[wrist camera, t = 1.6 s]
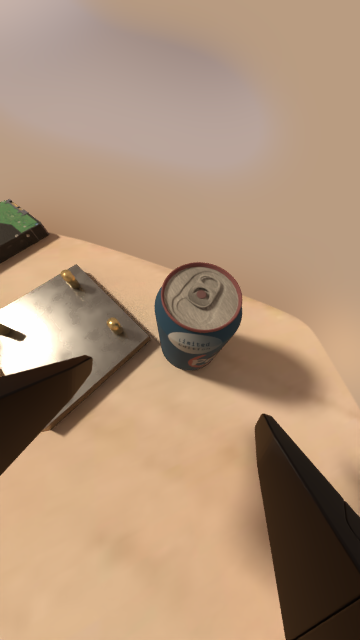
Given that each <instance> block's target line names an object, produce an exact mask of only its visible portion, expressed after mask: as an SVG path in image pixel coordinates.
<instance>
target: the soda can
mask: <svg viewBox="0 0 360 640" xmlns="http://www.w3.org/2000/svg"><path fill="white" fill-rule="evenodd" d="M155 315H156V321H157V326H158V332H159V337H160V343H161V348H162V352H163V354H164V356H165V357H166V359H167V360H168V361H169V362H170V363H171V364H172V365H174V366H175V367H177V368H180V369H183V370H197V369H200V368H202V367H204V366H206V365H207V364H208V363H209V362H210V361H211V360H212V359H213V358H214V357H215V356H216V354H217V353H218V352H219V351H220V350H221V349H222V347H223V346H224V345H225V344H226V343H227V342H228V340H229V339H230V338H231V337H232V336H233V335H234V333H235V332H236V331H237V329H238V327H239V325H240V322H241V319H242V293H241V290H240V287H239V285H238V283H237V282H236V280H235V279H234V278H233V277H232V276H231V275H230V274H229V273H228V272H227V271H225V270H224V269H222V268H220V267H218V266H216V265H213V264H209V263H201V262H197V263H189V264H185V265H182V266H180V267H178V268H176V269H175V270H173V271H172V272H171V273H170V274H169V275H168V276H167V278H166V279H165V281H164V283H163V285H162V287H161V288H160V290H159V292H158V294H157V296H156V300H155Z"/></svg>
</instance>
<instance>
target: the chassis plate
mask: <svg viewBox="0 0 360 640" xmlns="http://www.w3.org/2000/svg"><path fill="white" fill-rule="evenodd" d="M149 341H150V338H149V336H148V335H147V334H146V333H145V332H144V331H143V330H142V329H141V328H140V327H139V326H138V325H137V324H136V323H135V322H134V321H133V320H132V319H131V318H130V317H129V316H128V315H127V314H126V313H125V312H124V311H123V310H122V309H121V308H120V307H119V306H118V305H117V304H116V303H115V302H114V301H113V300H112V299H111V298H110V297H109V296H108V295H107V294H106V293H105V292H104V291H103V290H102V289H101V288H100V287H99V286H98V285H97V284H96V283H95V282H94V281H93V280H92V279H91V278H90V277H89V276H88V275H87V274H86V273H85V272H84V271H83V270H82V269H81V268H80V267H79V266H78V265H77V264H76V265H74V266H72V267H71V268H69V269H67V270H63V271H62V272H61V273H60V274H59V275H57V276H56V277H54V278H52V279H51V280H49V281H47V282H46V283H44V284H42V285H41V286H39V287H37V288H36V289H34V290H32V291H31V292H29V293H27V294H26V295H24V296H22V297H21V298H19V299H17V300H16V301H14V302H12V303H11V304H9V305H7V306H6V307H4V308H2V309H1V310H0V368H1V369H2V371H3V373H4V374H5V376H6V375H10V374H14V373H17V372H21V371H25V370H29V369H33V368H37V367H40V366H44V365H48V364H52V363H56V362H60V361H63V360H67V359H71V358H75V357H79V356H83V355H87V356H90V357H92V358H93V364H92V372H91V374H90V375H89V377H88V378H87V379H86V380H85V382H84V383H83V384H82V386H81V387H80V388H79V390H78V391H77V392H76V394H75V395H74V396H73V397H72V399H71V400H70V401H69V402H68V403H67V404H66V405H65V406H64V407H63V409H62V410H61V411H60V412H59V413H58V414H57V415H56V416H55V417H54V418H53V419H52V420H51V421H50V423H49V424H48V425H47V426H46V427H45V428H44V429H43V430H42V431H41V432H44V431H49V430H51V429H52V428H53V427H54V426H55V425H56V424H58V423H59V422H60V421H61V420H62V419H63V418H64V417H65V416H66V415H68V414H69V413H70V412H71V411H72V410H73V409H74V408H75V407H76V406H78V405H79V404H80V403H81V402H82V401H83V400H84V399H85V398H86V397H88V396H89V395H90V394H91V393H92V392H93V391H94V390H95V389H96V388H98V387H99V386H100V385H101V384H102V383H103V382H104V381H105V380H106V379H108V378H109V377H110V376H111V375H112V374H113V373H114V372H115V371H116V370H118V369H119V368H120V367H121V366H122V365H123V364H124V363H125V362H126V361H127V360H129V359H130V358H131V357H132V356H133V355H134V354H135V353H136V352H137V351H139V350H140V349H141V348H142V347H143V346H144V345H145V344H146V343H147V342H149Z"/></svg>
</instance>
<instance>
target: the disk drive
mask: <svg viewBox="0 0 360 640" xmlns="http://www.w3.org/2000/svg"><path fill="white" fill-rule="evenodd" d="M48 235H49V233H48V232H47V230H46V229H45V228H44V226H43V225H42V224H41V222H39V221H38V220H36V219H35V218H34V217H33V216H31V215H30V214H29V213H28V212H27V211H25V210H23V209H22V208H20V207H19V206H18V205H16V204H15V203H14V202H12V201H11V200H10V199H8V200H6V201H5V200H4V201H2V202H0V263H2V262H3V261H5V260H7V259H9V258H10V257H12V256H14V255H15V254H17V253H19V252H21V251H22V250H24V249H26V248H27V247H29V246H31V245H32V244H35V243H36V242H38V241H40V240H41V239H43V238H45V237H46V236H48Z"/></svg>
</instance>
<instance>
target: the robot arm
mask: <svg viewBox="0 0 360 640" xmlns="http://www.w3.org/2000/svg"><path fill="white" fill-rule="evenodd" d="M92 364H93V358H92V357H90V356H87V355H83V356H79V357H75V358H71V359H67V360H63V361H60V362H56V363H52V364H48V365H44V366H40V367H37V368H33V369H29V370H25V371H21V372H17V373H14V374H10V375H6V376H2V377H1V378H0V475H1V474H2V473H3V472H4V471H5V470H6V469H7V468H8V467H9V466H10V465H11V464H12V463H13V461H14V460H15V459H16V458H17V457H18V456H19V455H20V454H21V453H22V452H23V451H24V450H25V448H26V447H27V446H28V445H29V444H30V443H31V442H32V441H33V440H34V439H35V438H36V437H37V436H38V434H39V433H40V432H41V431H42V430H43V429H44V428H45V427H46V426H47V425H48V424H49V423H50V421H51V420H52V419H53V418H54V417H55V416H56V415H57V414H58V413H59V412H60V411H61V410H62V409H63V407H64V406H65V405H66V404H67V403H68V402H69V401H70V400H71V399H72V397H73V396H74V395H75V394H76V392H77V391H78V390H79V388H80V387H81V386H82V384H83V383H84V382H85V380H86V379H87V378H88V377H89V375H90V374H91V372H92ZM255 442H256V457H257V467H258V474H259V480H260V486H261V492H262V498H263V504H264V510H265V517H266V523H267V529H268V535H269V541H270V547H271V553H272V559H273V565H274V571H275V577H276V583H277V590H278V596H279V602H280V608H281V614H282V620H283V626H284V632H285V638H286V640H360V517H359V516H358V515H357V514H356V513H355V512H354V510H353V509H352V508H351V507H350V506H349V505H348V503H347V502H345V501H344V499H343V498H342V497H341V496H340V494H339V493H338V492H337V491H336V490H335V489H334V487H333V486H332V485H331V484H330V483H329V482H328V481H327V479H326V478H325V477H324V476H323V475H322V474H321V473H320V471H319V470H318V469H317V468H316V467H315V466H314V464H313V463H312V462H311V461H310V460H309V459H308V458H307V456H306V455H305V454H304V453H303V452H302V451H301V450H300V448H299V447H298V446H297V445H296V444H295V443H294V441H293V440H292V439H291V438H290V437H289V436H288V435H287V433H286V432H285V431H284V430H283V429H282V428H281V427H280V425H279V424H278V423H277V422H276V421H275V420H274V418H273V417H272V416H270V415H267V414H261V416H260V418H259V420H258V421H257V423H256V425H255Z"/></svg>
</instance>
